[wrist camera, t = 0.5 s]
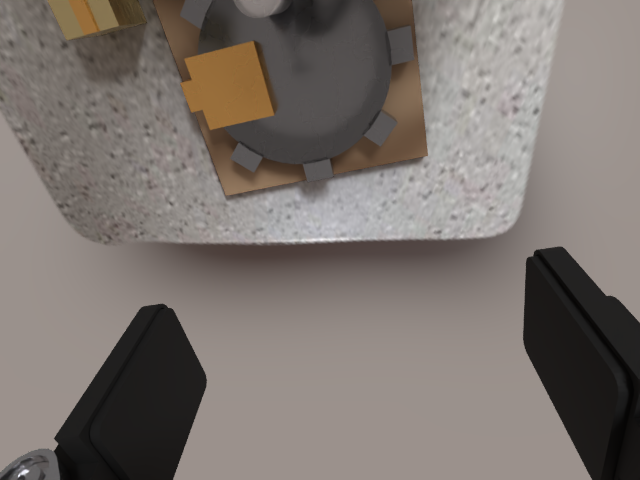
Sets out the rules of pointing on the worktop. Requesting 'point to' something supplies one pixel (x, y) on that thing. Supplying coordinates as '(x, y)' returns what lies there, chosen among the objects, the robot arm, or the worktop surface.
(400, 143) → the sprocket base
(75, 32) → the tan block with orange
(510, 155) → the worktop surface
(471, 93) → the worktop surface
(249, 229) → the worktop surface
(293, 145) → the sprocket
